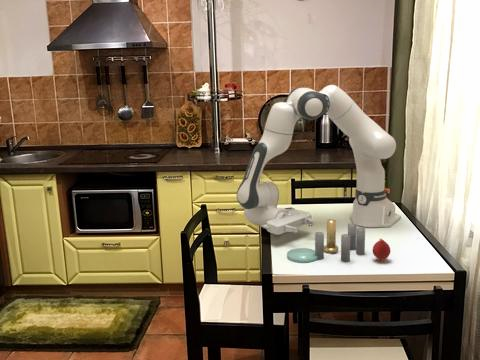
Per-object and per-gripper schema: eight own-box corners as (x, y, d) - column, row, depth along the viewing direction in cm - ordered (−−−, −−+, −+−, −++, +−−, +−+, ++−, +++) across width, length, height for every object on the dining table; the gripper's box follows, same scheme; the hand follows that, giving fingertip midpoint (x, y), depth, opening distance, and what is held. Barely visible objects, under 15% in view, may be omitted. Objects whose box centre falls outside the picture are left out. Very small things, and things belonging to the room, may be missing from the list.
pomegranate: (387, 257, 185) (387, 235, 184) (392, 263, 180) (393, 241, 178) (370, 257, 185) (370, 235, 183) (375, 264, 180) (375, 241, 178)
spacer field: (343, 244, 199) (344, 221, 197) (369, 251, 191) (370, 227, 189) (313, 258, 187) (313, 233, 185) (339, 266, 179) (339, 240, 177)
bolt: (329, 247, 196) (329, 217, 194) (341, 250, 193) (341, 220, 190) (320, 251, 193) (320, 220, 190) (332, 254, 189) (332, 223, 186)
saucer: (300, 248, 196) (300, 245, 195) (325, 256, 188) (325, 253, 188) (280, 257, 188) (280, 254, 188) (304, 265, 181) (304, 262, 180)
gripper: (259, 218, 202) (286, 225, 192) (294, 206, 215) (322, 212, 205) (259, 233, 203) (287, 242, 193) (294, 221, 217) (322, 228, 207)
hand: (305, 227), depth 199 cm, fingers open, 8 cm apart
